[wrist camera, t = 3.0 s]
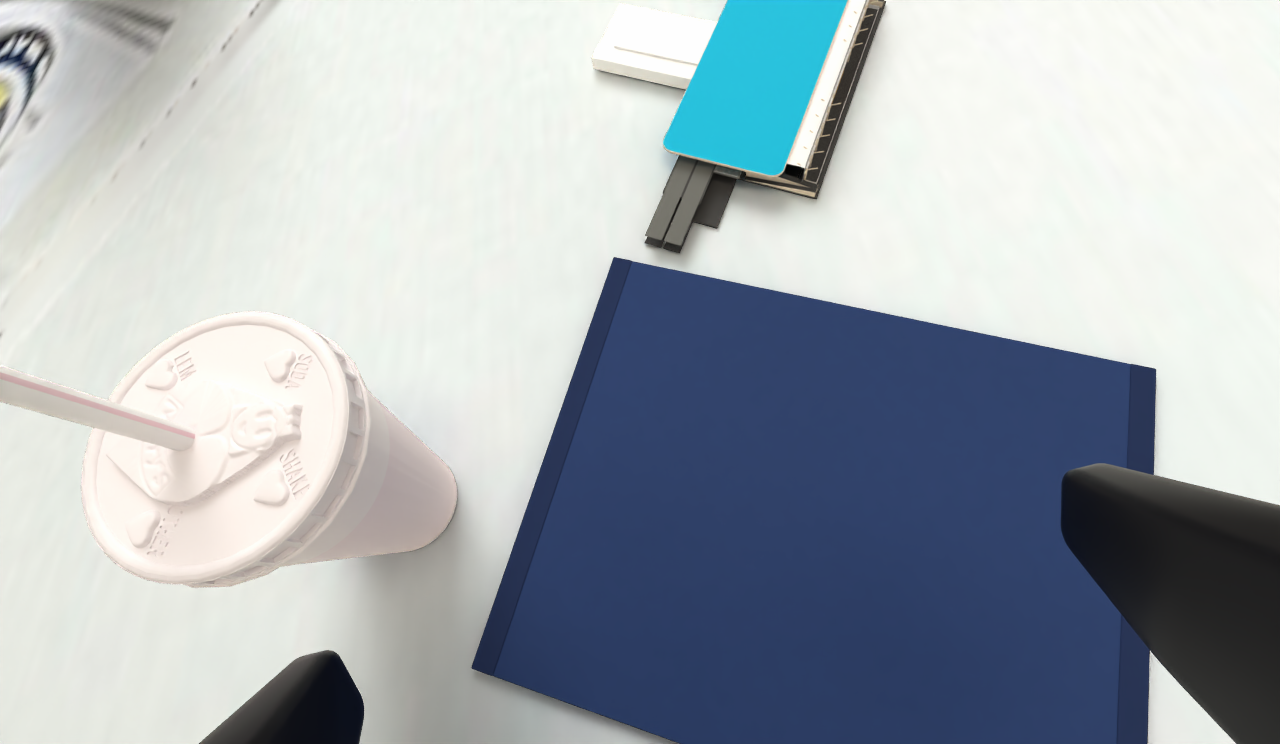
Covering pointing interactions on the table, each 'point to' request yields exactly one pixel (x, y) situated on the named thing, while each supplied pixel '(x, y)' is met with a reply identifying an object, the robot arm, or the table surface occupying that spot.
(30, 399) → the smoothie
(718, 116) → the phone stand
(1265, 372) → the table surface
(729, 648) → the cloth
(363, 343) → the table surface
